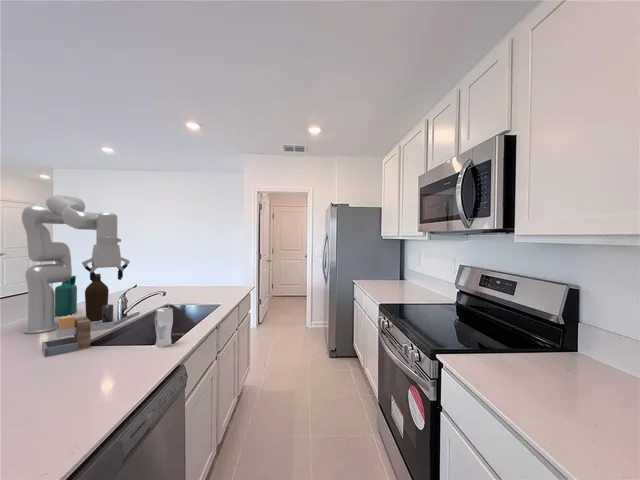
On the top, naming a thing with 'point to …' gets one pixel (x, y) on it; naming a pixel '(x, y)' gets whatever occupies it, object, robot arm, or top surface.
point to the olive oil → (96, 299)
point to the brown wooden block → (82, 332)
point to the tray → (59, 346)
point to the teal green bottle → (66, 298)
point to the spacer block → (66, 322)
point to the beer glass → (163, 326)
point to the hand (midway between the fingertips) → (106, 280)
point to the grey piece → (105, 324)
